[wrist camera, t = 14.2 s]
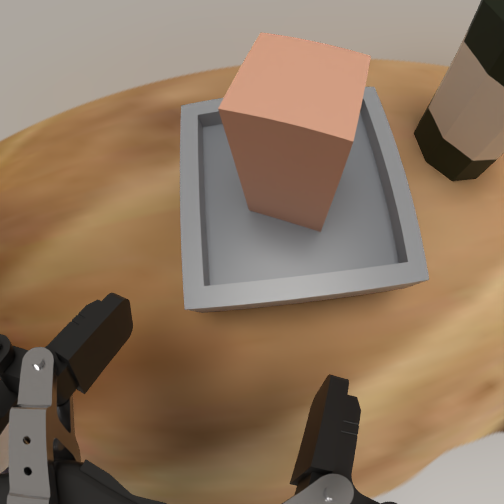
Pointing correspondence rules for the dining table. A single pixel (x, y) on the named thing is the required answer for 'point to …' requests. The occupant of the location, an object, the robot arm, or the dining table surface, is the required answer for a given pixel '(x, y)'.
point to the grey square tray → (292, 235)
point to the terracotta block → (293, 124)
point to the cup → (4, 449)
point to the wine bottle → (469, 102)
